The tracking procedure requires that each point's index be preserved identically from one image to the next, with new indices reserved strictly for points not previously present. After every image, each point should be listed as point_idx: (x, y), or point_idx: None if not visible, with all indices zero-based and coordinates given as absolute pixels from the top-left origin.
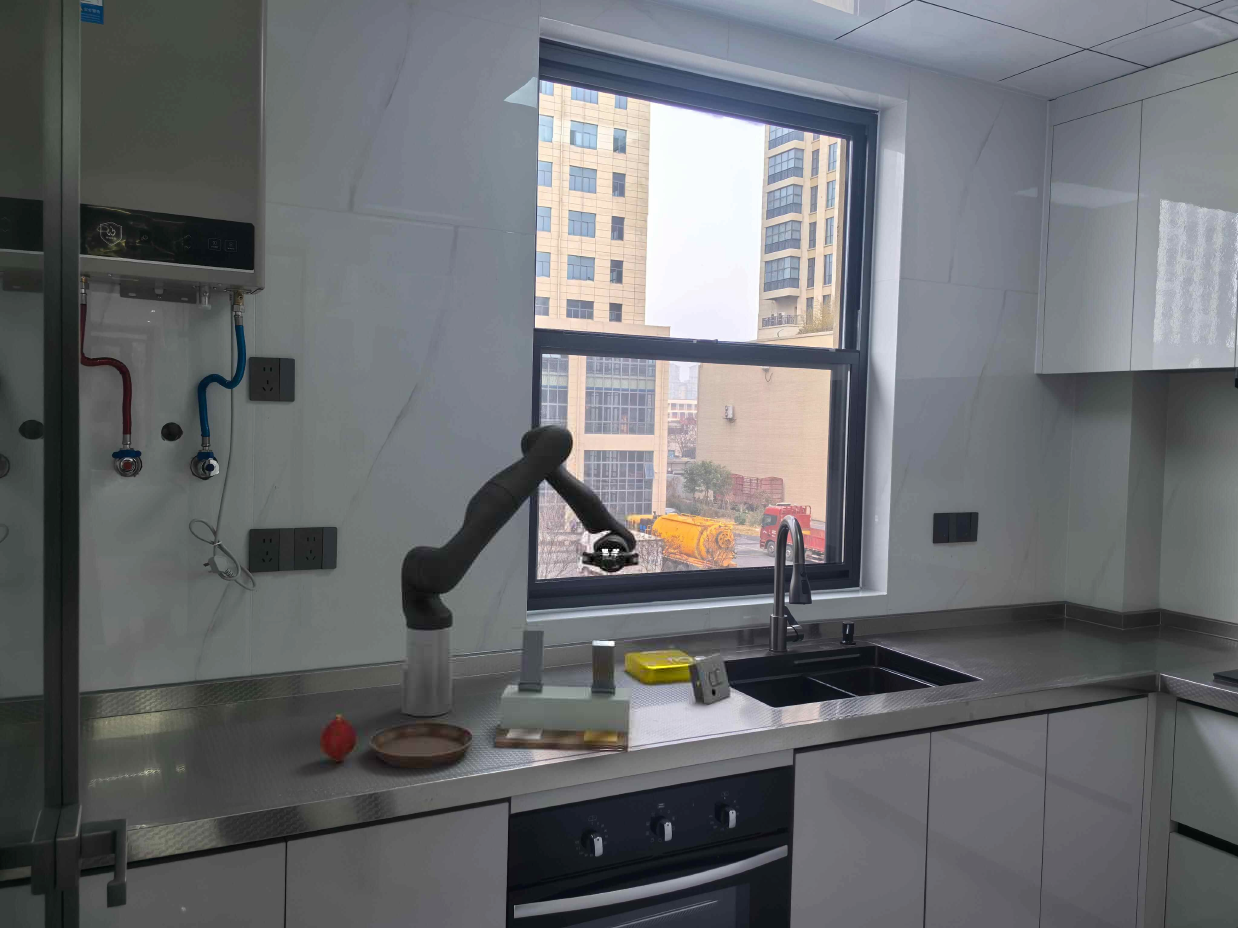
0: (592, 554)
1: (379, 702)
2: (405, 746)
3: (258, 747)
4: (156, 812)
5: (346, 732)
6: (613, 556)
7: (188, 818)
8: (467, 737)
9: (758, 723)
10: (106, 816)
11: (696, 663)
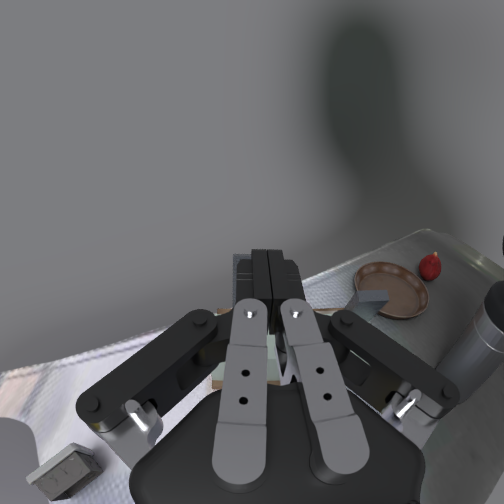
0: (377, 331)
1: (496, 387)
2: (405, 299)
3: (475, 290)
4: (436, 235)
5: (424, 258)
6: (250, 300)
7: (421, 232)
8: None
9: (62, 376)
10: (446, 233)
11: (78, 447)
